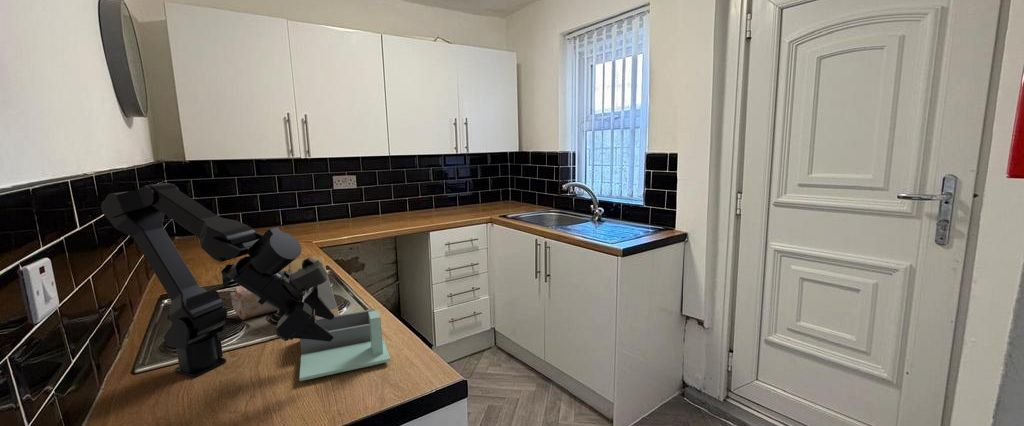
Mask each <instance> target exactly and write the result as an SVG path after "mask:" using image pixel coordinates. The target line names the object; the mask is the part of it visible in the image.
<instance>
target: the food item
mask: <svg viewBox="0 0 1024 426" xmlns="http://www.w3.org/2000/svg"><path fill="white" fill-rule="evenodd" d="M230 297H231V305H232V308H233V311H234V312H235V314H236V315H237V316H238V317H239V318H240V319H241V320H242V321H244V320H248V319H252V318H255V317H258V316H261V315H266V314H269V313H274V312H277V309H275V308H274V307H272V306H271V305H269V304H268V303H266V302H265V303H264V304H263V305H261V304H260V303H258V299H259V297H257V296H256V295H254V294H253V293H251V292H250V291H248V290H247V289H245V288H244V287H242V286H241V285H239V286H235V287H234V291H231V292H230Z"/></svg>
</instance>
